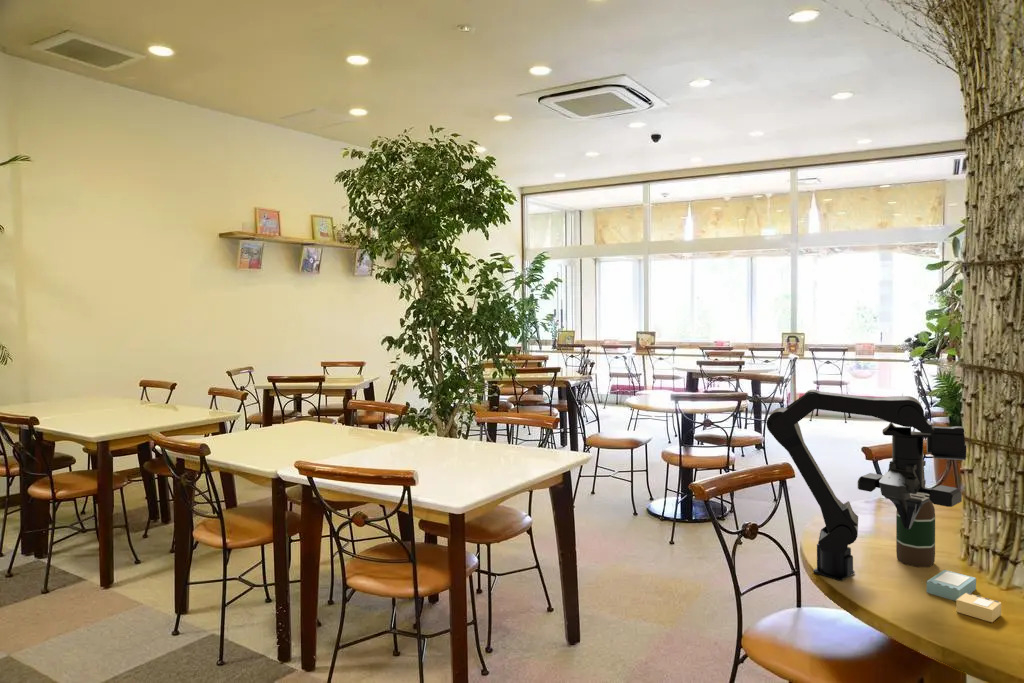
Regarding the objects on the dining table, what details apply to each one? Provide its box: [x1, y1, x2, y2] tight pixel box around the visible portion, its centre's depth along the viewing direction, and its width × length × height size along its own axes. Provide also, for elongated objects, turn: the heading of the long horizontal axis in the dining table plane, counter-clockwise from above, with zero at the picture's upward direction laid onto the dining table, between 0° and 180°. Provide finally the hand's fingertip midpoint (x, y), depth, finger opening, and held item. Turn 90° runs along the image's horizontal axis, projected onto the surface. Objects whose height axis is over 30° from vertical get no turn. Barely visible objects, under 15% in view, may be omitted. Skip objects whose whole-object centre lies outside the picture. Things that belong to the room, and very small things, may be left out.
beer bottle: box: [895, 466, 936, 568], centre depth 159 cm, size 8×8×24 cm
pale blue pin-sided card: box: [926, 569, 977, 602], centre depth 144 cm, size 6×9×2 cm, turn 128°
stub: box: [955, 593, 1002, 623], centre depth 133 cm, size 6×5×2 cm
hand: (907, 528), depth 147 cm, fingers closed
